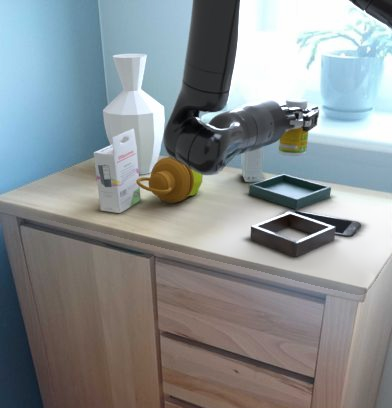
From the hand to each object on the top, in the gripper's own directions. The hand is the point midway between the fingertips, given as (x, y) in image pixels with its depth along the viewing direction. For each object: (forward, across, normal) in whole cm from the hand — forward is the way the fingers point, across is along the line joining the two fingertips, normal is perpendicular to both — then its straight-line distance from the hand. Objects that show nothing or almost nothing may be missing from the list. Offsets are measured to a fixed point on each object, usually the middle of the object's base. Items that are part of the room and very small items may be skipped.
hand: (302, 110), depth 108 cm
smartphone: (-9, -10, +18) cm, 23 cm away
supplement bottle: (-3, 0, +8) cm, 8 cm away
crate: (-19, -10, +18) cm, 28 cm away
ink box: (-24, +27, +18) cm, 41 cm away
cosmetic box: (+7, +16, +18) cm, 25 cm away
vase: (-3, +42, +18) cm, 46 cm away
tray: (+2, +2, +18) cm, 18 cm away
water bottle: (-14, +20, +18) cm, 31 cm away
